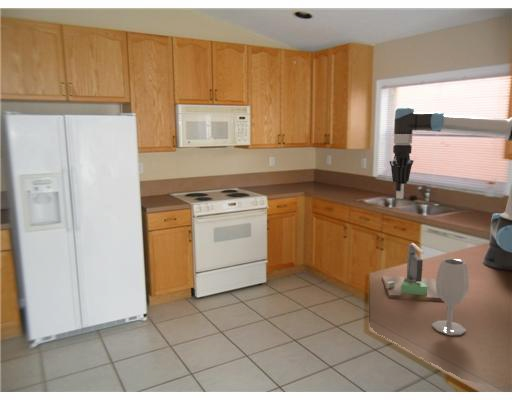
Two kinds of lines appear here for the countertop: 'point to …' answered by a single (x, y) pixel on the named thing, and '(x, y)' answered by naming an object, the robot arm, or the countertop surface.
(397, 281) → the brown square base board
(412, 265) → the signpost stand
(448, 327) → the wineglass
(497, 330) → the countertop surface
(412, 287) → the gauge marks
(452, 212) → the countertop surface
